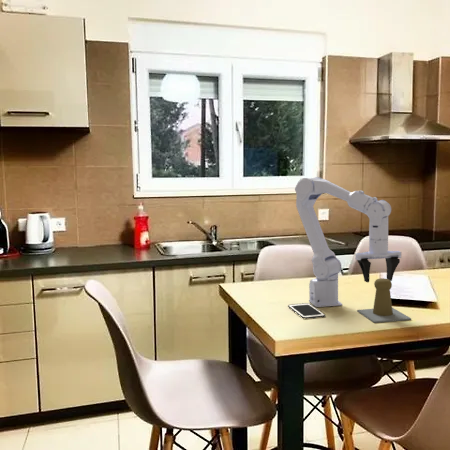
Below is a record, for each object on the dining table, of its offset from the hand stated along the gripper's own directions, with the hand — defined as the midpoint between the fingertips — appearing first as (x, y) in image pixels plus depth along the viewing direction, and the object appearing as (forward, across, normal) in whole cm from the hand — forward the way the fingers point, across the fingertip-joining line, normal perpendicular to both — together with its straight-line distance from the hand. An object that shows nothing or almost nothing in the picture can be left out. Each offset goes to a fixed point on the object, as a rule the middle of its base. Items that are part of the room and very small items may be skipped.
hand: (378, 280), depth 152 cm
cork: (+10, 0, -3) cm, 10 cm away
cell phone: (+11, -22, +6) cm, 25 cm away
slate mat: (+10, 0, -4) cm, 11 cm away
